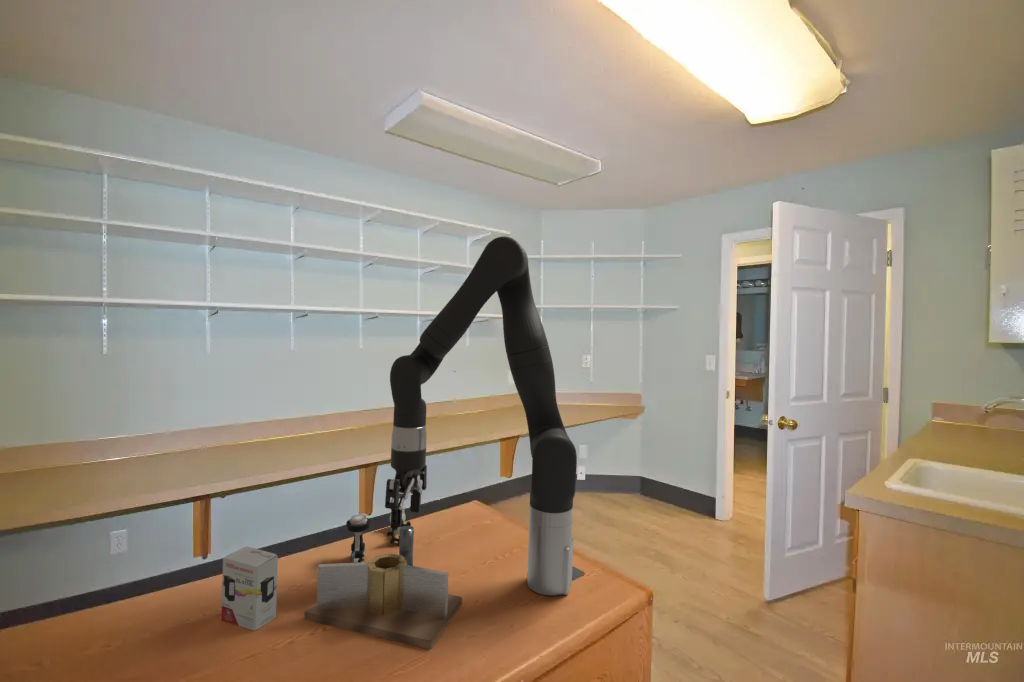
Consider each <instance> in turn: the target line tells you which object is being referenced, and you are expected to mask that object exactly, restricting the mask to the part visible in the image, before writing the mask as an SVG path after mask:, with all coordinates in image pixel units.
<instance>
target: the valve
mask: <svg viewBox="0 0 1024 682" xmlns="http://www.w3.org/2000/svg"><path fill="white" fill-rule="evenodd" d="M406 516H407V515H406V513H405V504H403V507H402V525H401V526H399V527H396V526H392V525H391V513H390V515H389V522H390V525H389V526H390V530H387V531H386V536H387V537H391V538H390V539H389V543H390V544H391V545H393V544H394V543H396V542H397V546H399V541H400V528H401V527H403V526H411V525H412V523H411V521H410V520H408V521H406ZM405 521H406V523H405ZM395 533H396V535H397V536H398V538H397V537H396V536H395Z"/></svg>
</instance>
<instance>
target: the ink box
mask: <svg viewBox="0 0 1024 682" xmlns="http://www.w3.org/2000/svg"><path fill="white" fill-rule="evenodd" d="M278 561H279V560H278V555H277V554H276V553H274V552H271V551H270V552H269V551H265V550H262V549H259V548H258V549H257V548H254V547H251V546H244V547H242V548H240V549H238V550H236V551H234V552H232V553H229V554H227V555H226V556H224V557H222V581H221V583H222V585H221V586H222V587H221V588H222V589H221V590H222V591H221V615H220V616H221V621H224V622H226V623H228V624H232V625H236V626H239V627H241V628H245V629H247V630H250V631H254V632H257V630H260V628H263V626H265V625H266V624H268V623H270V622H271V621H272V620H274V619H275V618H276V617H277V594H278V593H277V591H278Z"/></svg>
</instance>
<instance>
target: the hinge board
mask: <svg viewBox="0 0 1024 682" xmlns="http://www.w3.org/2000/svg"><path fill="white" fill-rule="evenodd" d="M462 604H463V597H462V596H459V595H454V594H449V593H448V606H447V616H446V618H441V617H436V616H432V615H427V614H422V613H418V612H413V611H408V610H404V609H400V611H398V612H395V613H391V614H388V615H378V614H373V613H370V612H369V611H368V608H367V607H350V608H332V609H317V601H316V602H315V603H314V604H312V605H311V606H310V607H308V608H307V609H306V610H304V620H306V621H308V622H314V623H318V624H320V625H321V624H322V625H327V626H330V627H333V628H334V627H335V628H339V629H342V630H347V631H351V632H355V633H360V634H365V635H369V636H372V637H376V638H381V639H384V640H390V641H393V642H398V643H401V644H404V645H405V644H406V645H410V646H414V647H419V648H423V649H426V650H431V649H432V648H433V647H434V646H435V644H436V642H437V641H438V640H439V638H440V637H441V635H442V634H443V632H444V631H445V630H446V628H447V626H448V625H449V623H450V622H451V621H452V619H453V618H454V616H455V615H456V613H457V612H458V611H459V609H460V608H461V606H462Z"/></svg>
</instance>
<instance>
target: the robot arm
mask: <svg viewBox="0 0 1024 682" xmlns="http://www.w3.org/2000/svg"><path fill="white" fill-rule="evenodd" d="M529 269H530V268H529V257H528V255H527V252H526V250H525V248H524V247H523V245H522V244H521V243H520V242H519V241H518V240H516V239H515V238H513V237H510V236H499V237H495V238H493V239H492V240H490V241H489V242H488V243H487V244H486V245H485V247H484V249H483V251H482V252H481V254H480V255H479V258H478V259H477V261H476V262H475V264H474V266H473V268H472V270H471V271H470V272H469V274H468V275H467V277H466V279H464V282H463V283H462V284H461V286H460V287H459V289H457V291H456V293H454V295H453V296H452V297H451V299H450V300H448V302H447V303H446V304H445V306H444V307H443V308H442V309H441V310H440V312H439V313H438V314H437V315H436V316H435V317H434V319H433V320H432V321H431V322H430V323H429V324H428V326H427V327H426V328H424V331H422V333H421V335H420V336H419V343H418V345H417V346H416V347H415V348H414V350H413V351H411V353H410V354H407V355H401V356H399V357H398V358H396V359H395V360H394V361H393V363H392V364H391V368H390V371H389V372H390V374H389V382H390V383H389V384H390V391H391V396H392V397H391V398H392V402H393V405H394V406H393V425H392V432H391V448H390V466H391V468H392V469H394V471H395V476H394V478H392V479H391V478H388V479H387V481H386V485H385V486H386V489H385V501H384V503H385V504H384V508H386V509H388V510H391V513H390V514H391V523H390V524H391V525H392V526H396V527H399V526H401V525H402V507H403V504H404V503H405V501H406V500H407V499H408V497H409V494H411V495H410V505H409V507H410V508H409V510H410V512H411V513H419V512H420V511H421V506H422V505H421V504H422V501H421V500H422V496H423V493H424V491H426V490H427V482H428V481H427V480H428V479H427V478H428V477H427V476H428V475H427V474H428V473H427V471H428V468H427V466H428V465H427V464H426V460H427V459H426V458H427V437H428V435H427V402H426V401H425V400H424V399H423V398H422V385H423V384H425V383H427V382H428V381H429V380H430V379H431V378H432V376H434V373H436V371H437V370H438V368H439V367H440V366H441V364H442V362H443V360H444V358H445V357H446V355H448V353H449V352H450V351H451V350H452V349H453V348H454V347H455V345H457V343H458V342H459V341H460V339H461V338H462V337H463V335H465V333H466V332H467V331H468V329H469V328H470V326H471V325H472V323H473V322H474V320H475V319H476V317H477V315H478V314H479V312H480V311H481V310H482V308H483V307H484V305H485V304H486V303H487V302H488V301H489V300H490V299H491V297H493V295H494V294H495V293H496V294H497V296H498V299H499V303H500V307H501V313H502V314H501V315H502V329H503V331H502V332H503V339H504V341H503V342H504V348H505V352H506V353H505V354H506V357H507V361H508V366H509V370H510V373H511V377H512V379H513V382H514V386H515V388H516V390H517V391H516V392H517V393H518V396H519V398H520V401H521V404H522V406H523V409H524V412H525V417H526V423H527V429H528V431H527V432H528V438H529V446H530V448H529V449H530V455H531V462H532V463H531V464H532V465H531V468H532V469H531V487H530V492H529V512H528V513H529V516H528V517H529V519H528V520H529V521H528V546H527V547H528V548H527V570H526V571H527V572H526V576H527V579H526V581H527V582H526V583H527V586H528V588H529V589H530V590H531V591H532V592H534V593H537V594H539V595H544V596H560V595H564V596H566V595H567V596H568V594H569V591H570V589H571V585H572V583H573V561H574V560H573V559H574V558H573V556H574V538H573V514H574V513H573V511H574V507H573V506H574V498H575V495H576V488H577V487H576V485H577V484H576V482H577V466H578V465H577V464H578V463H577V462H578V461H577V460H578V459H577V458H578V457H577V450H576V446H575V445H574V443H573V441H572V440H571V438H570V437H569V435H568V434H567V433H568V432H567V431H566V427H565V426H564V423H563V419H562V417H561V414H560V410H559V406H558V402H557V394H556V378H555V377H556V376H555V370H554V365H553V364H554V362H553V359H552V358H553V357H552V355H551V354H552V353H551V350H550V346H549V343H548V338H547V335H546V332H545V329H544V326H543V322H542V319H541V317H540V314H539V311H538V309H537V307H536V303H535V301H534V300H535V299H534V295H533V289H532V283H531V276H530V270H529ZM404 505H405V504H404Z"/></svg>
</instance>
